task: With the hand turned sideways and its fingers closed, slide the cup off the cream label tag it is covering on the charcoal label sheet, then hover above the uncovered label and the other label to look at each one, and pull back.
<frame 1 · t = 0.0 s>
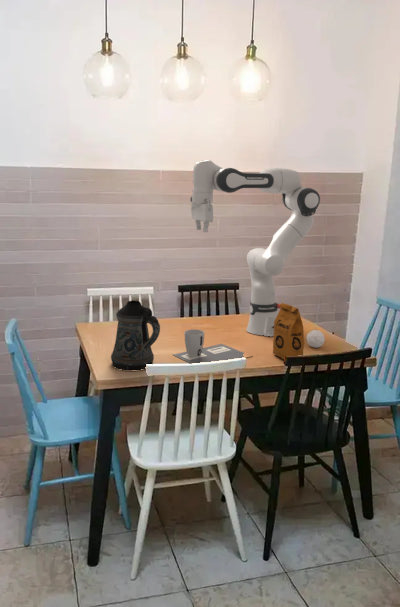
hand: (201, 231, 238), 48 cm above the table, tool pointing down, fingers open, 8 cm apart
label sheet: (212, 355, 222), on the table
geometric ball: (314, 347, 236), on the table
coffee package: (287, 358, 221), on the table
cup: (194, 356, 221), resting on label sheet
beer stein: (136, 364, 211), on the table
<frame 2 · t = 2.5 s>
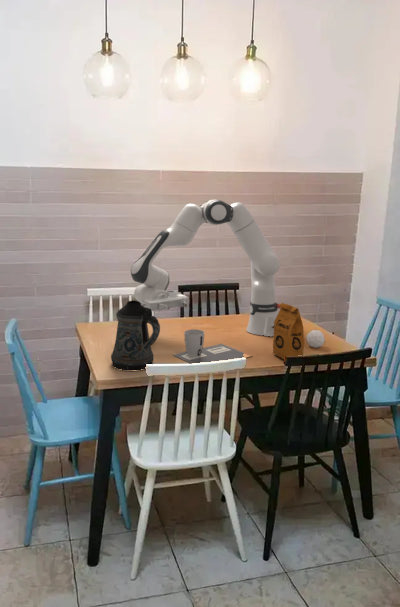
hand: (177, 306, 226), 18 cm above the table, tool horizontal, fingers open, 8 cm apart
nothing on the table moved.
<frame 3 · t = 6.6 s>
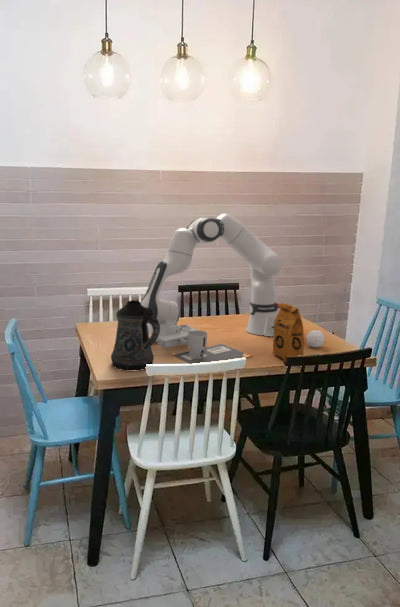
hand: (191, 343, 221), 5 cm above the table, tool horizontal, fingers closed, pressing on cup
cup: (196, 357, 220), resting on label sheet, touching gripper
everything else where it was.
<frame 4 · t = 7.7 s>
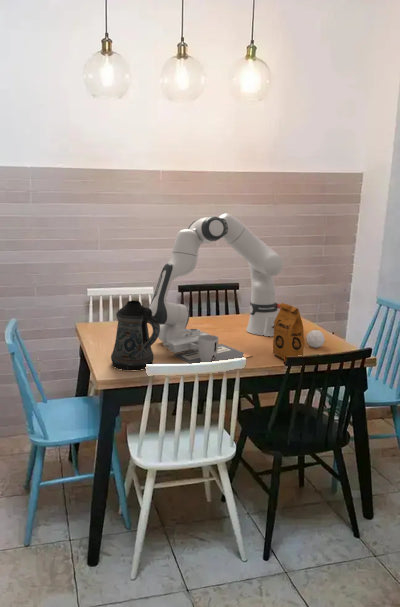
hand: (202, 347, 216), 5 cm above the table, tool horizontal, fingers closed, pressing on cup
cup: (207, 362, 214), resting on label sheet, touching gripper
everything else where it was.
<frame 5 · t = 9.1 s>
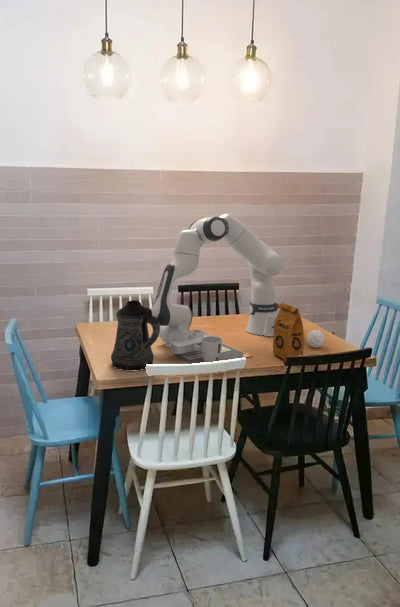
hand: (205, 349, 214), 5 cm above the table, tool horizontal, fingers closed
cup: (211, 364, 212), resting on label sheet
everything else where it was.
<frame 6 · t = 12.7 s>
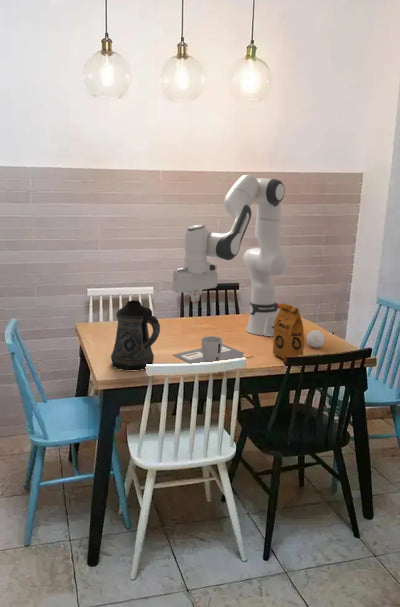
hand: (195, 301, 216), 23 cm above the table, tool pointing down, fingers closed
nothing on the table moved.
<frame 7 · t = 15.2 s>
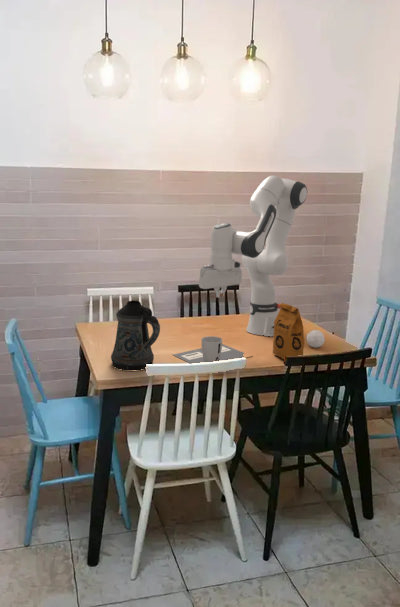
hand: (220, 297, 223), 23 cm above the table, tool pointing down, fingers closed
nothing on the table moved.
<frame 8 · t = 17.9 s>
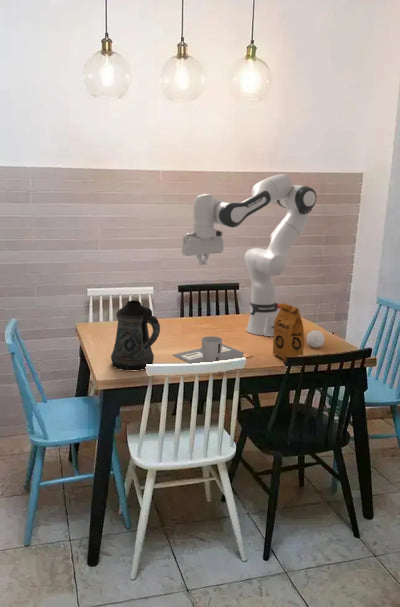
hand: (202, 264, 235), 34 cm above the table, tool pointing down, fingers closed
nothing on the table moved.
at the end: cup inside the target area on the label sheet (2.7 cm from its centre), point 0.0 cm above the label sheet's base; cup moved 11.4 cm from its start; cup tilted 0° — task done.
